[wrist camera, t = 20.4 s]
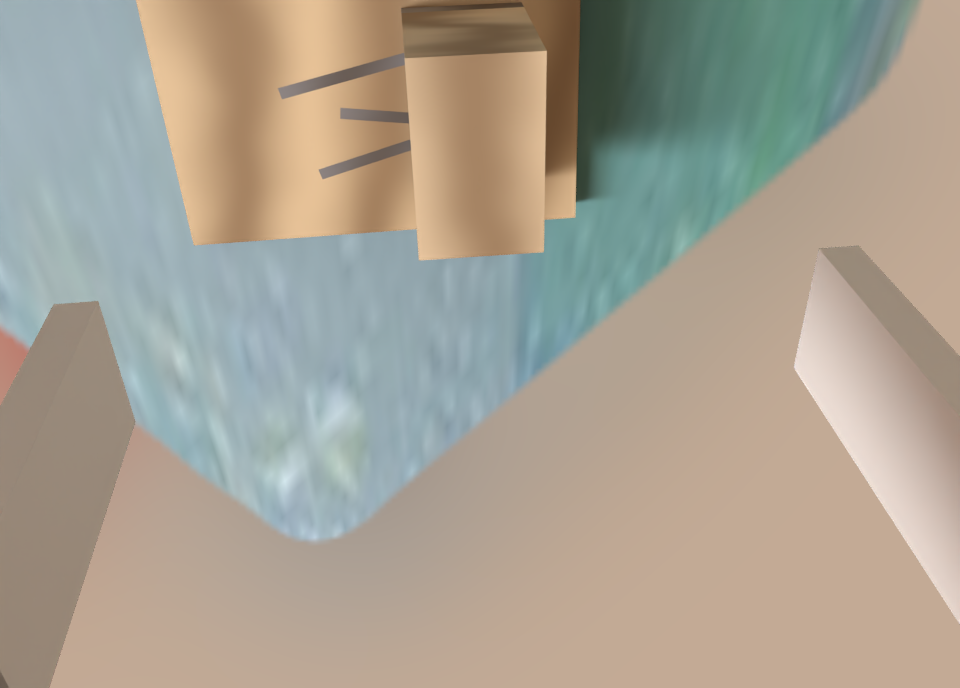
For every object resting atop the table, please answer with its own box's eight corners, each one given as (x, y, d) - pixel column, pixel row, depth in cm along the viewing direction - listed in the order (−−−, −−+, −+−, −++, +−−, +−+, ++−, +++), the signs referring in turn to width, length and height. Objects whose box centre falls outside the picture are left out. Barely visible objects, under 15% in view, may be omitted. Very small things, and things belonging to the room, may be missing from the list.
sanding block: (413, 187, 42) (419, 260, 37) (400, 8, 38) (404, 58, 32) (521, 181, 43) (543, 252, 37) (521, 2, 38) (547, 50, 32)
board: (199, 230, 44) (193, 245, 43) (138, -34, 38) (129, -26, 36) (569, 204, 45) (575, 217, 44) (575, -59, 38) (581, -52, 37)
